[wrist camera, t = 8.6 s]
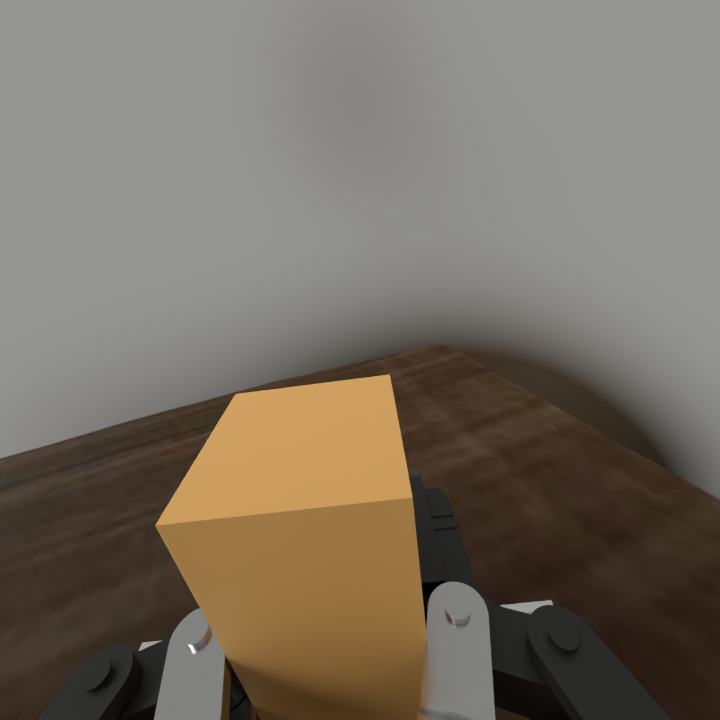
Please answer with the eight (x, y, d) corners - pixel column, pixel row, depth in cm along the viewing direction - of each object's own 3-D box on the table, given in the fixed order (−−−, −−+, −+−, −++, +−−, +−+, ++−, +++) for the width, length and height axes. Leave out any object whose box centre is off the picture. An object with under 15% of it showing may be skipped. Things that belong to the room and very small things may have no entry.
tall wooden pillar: (308, 807, 10) (154, 525, 5) (322, 633, 15) (242, 383, 10) (443, 799, 10) (412, 497, 5) (418, 625, 14) (387, 364, 9)
